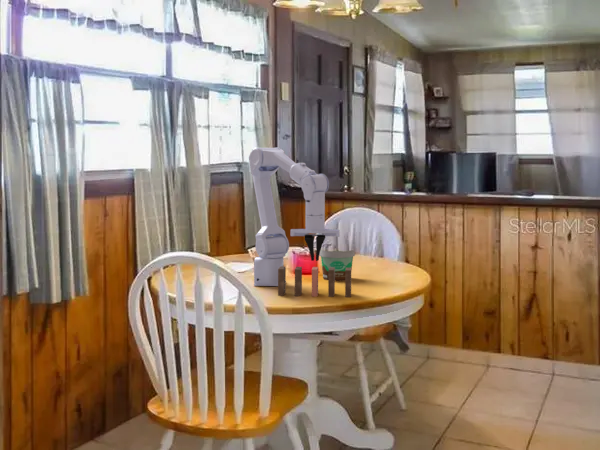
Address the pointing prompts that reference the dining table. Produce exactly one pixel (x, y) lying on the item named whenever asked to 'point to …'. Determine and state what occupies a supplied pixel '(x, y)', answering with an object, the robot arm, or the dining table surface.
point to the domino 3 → (314, 281)
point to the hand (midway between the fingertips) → (314, 260)
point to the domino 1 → (281, 280)
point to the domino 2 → (298, 281)
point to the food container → (336, 263)
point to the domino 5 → (348, 282)
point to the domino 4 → (331, 281)
